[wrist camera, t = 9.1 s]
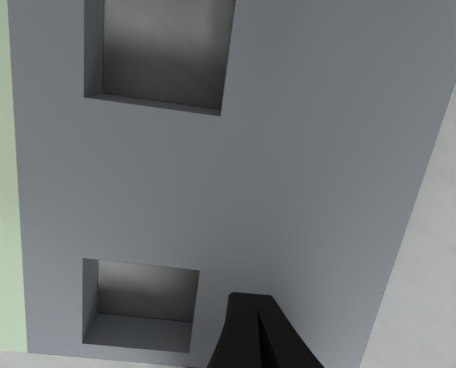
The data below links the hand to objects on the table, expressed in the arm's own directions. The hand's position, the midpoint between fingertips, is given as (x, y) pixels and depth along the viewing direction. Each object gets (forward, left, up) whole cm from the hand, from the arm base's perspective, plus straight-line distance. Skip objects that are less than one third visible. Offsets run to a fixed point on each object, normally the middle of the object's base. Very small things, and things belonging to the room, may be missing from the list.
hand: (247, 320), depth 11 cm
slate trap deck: (+1, +5, -9) cm, 10 cm away
